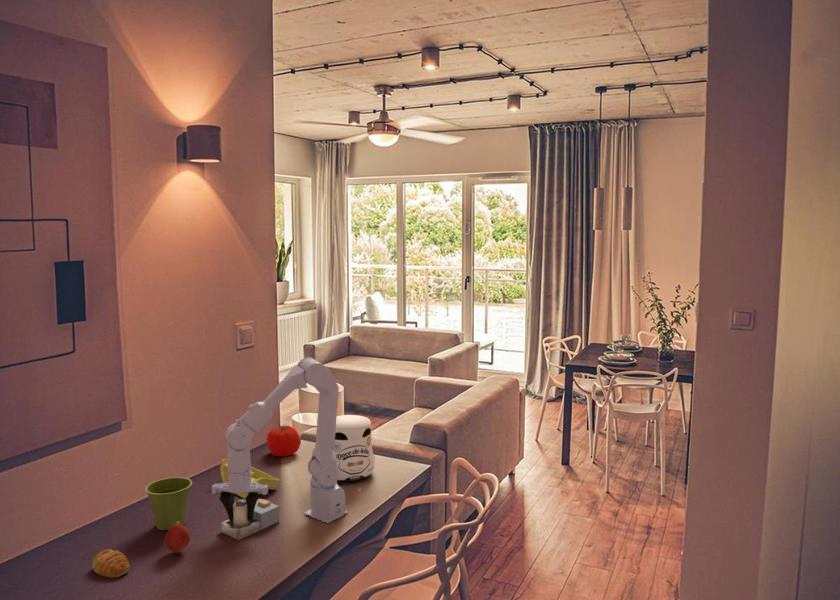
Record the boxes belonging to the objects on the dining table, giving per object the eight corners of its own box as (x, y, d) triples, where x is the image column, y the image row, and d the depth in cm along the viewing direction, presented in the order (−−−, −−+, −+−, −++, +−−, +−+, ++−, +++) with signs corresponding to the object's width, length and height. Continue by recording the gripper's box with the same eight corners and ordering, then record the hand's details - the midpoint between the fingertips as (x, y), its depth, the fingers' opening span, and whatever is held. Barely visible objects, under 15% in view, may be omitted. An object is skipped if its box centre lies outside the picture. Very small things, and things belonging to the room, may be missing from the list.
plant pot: (203, 518, 175) (201, 478, 173) (175, 538, 163) (173, 496, 162) (166, 513, 178) (164, 474, 177) (137, 532, 167) (134, 491, 165)
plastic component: (282, 481, 195) (259, 476, 187) (273, 504, 193) (250, 501, 185) (242, 462, 206) (218, 457, 199) (233, 484, 205) (209, 480, 197)
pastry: (138, 570, 148) (137, 554, 148) (110, 583, 143) (109, 567, 142) (115, 558, 154) (114, 543, 153) (88, 571, 148) (87, 556, 148)
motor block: (279, 521, 172) (278, 503, 172) (261, 530, 167) (260, 511, 167) (260, 513, 177) (260, 495, 176) (242, 521, 172) (242, 503, 172)
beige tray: (262, 529, 168) (262, 520, 168) (238, 540, 162) (238, 531, 162) (244, 521, 173) (244, 512, 172) (220, 531, 167) (220, 522, 166)
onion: (164, 560, 152) (162, 528, 152) (166, 548, 158) (165, 518, 157) (189, 556, 154) (188, 525, 153) (191, 545, 160) (190, 515, 159)
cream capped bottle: (252, 523, 170) (252, 498, 169) (247, 530, 165) (246, 504, 165) (236, 522, 170) (236, 497, 169) (230, 529, 165) (230, 504, 165)
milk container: (354, 490, 193) (353, 433, 191) (310, 479, 201) (308, 424, 199) (385, 471, 208) (384, 418, 206) (342, 462, 216) (341, 411, 214)
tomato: (275, 447, 231) (274, 420, 230) (306, 451, 227) (306, 423, 226) (258, 458, 221) (257, 429, 220) (290, 462, 217) (290, 433, 216)
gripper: (271, 464, 169) (272, 513, 170) (218, 463, 170) (220, 511, 171) (262, 474, 162) (264, 525, 163) (207, 473, 163) (209, 523, 164)
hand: (241, 519), depth 167 cm, fingers closed on cream capped bottle, 4 cm apart
